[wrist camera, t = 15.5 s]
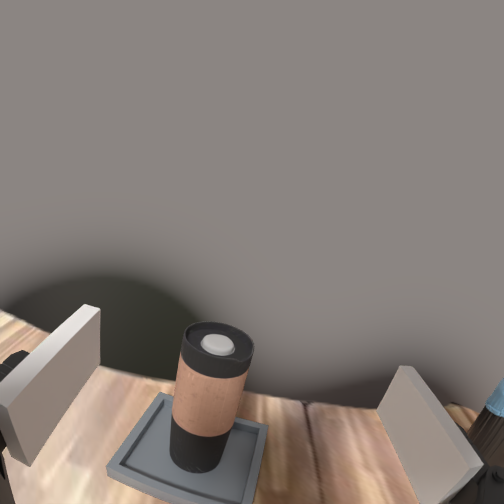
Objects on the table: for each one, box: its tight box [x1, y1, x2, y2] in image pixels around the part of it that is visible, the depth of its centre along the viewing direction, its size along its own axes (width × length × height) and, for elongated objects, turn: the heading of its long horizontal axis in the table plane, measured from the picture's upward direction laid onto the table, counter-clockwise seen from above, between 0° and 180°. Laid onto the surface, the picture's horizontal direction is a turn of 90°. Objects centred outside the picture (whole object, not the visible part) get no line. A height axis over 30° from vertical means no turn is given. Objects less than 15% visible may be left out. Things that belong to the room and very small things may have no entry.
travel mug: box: [169, 321, 254, 474], centre depth 34 cm, size 8×8×20 cm
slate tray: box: [106, 392, 268, 504], centre depth 36 cm, size 18×18×2 cm
